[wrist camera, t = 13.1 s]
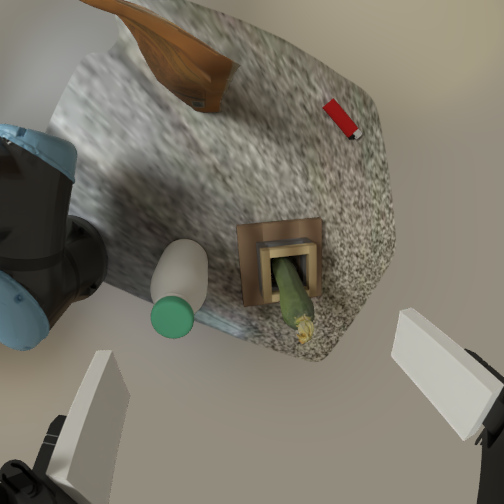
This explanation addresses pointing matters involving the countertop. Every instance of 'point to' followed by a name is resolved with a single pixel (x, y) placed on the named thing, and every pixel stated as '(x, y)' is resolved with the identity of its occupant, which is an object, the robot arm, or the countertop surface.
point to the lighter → (342, 119)
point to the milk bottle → (178, 287)
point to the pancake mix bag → (176, 56)
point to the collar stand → (278, 245)
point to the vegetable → (293, 299)
